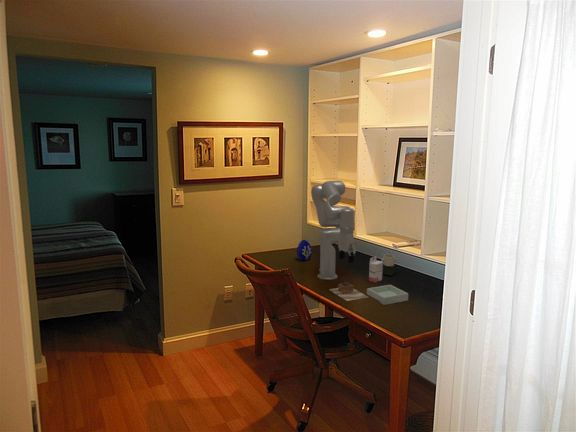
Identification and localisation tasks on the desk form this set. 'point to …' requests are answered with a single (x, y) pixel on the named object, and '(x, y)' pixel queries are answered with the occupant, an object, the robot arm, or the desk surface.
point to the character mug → (388, 263)
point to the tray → (387, 294)
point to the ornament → (304, 250)
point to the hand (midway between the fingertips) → (346, 260)
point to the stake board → (349, 294)
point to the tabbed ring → (345, 288)
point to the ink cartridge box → (375, 270)
